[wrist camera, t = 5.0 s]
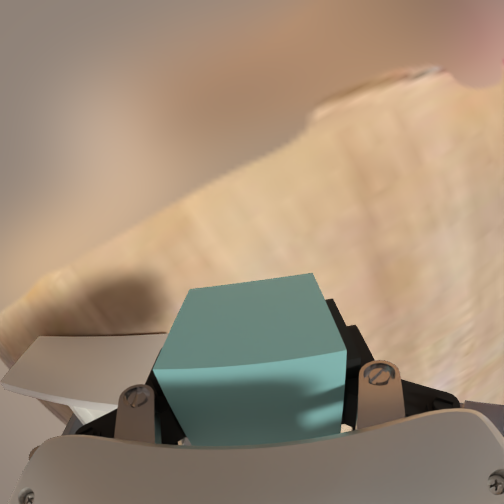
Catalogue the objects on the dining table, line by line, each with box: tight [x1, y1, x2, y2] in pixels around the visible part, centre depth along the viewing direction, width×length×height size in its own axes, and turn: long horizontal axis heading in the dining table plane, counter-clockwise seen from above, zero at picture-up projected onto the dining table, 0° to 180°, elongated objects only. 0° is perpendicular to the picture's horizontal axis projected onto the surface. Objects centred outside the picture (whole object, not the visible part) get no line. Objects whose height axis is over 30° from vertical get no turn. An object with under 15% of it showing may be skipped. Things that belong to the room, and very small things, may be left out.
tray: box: [0, 333, 185, 445], centre depth 24 cm, size 18×18×9 cm
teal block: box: [153, 273, 347, 446], centre depth 10 cm, size 5×5×5 cm
